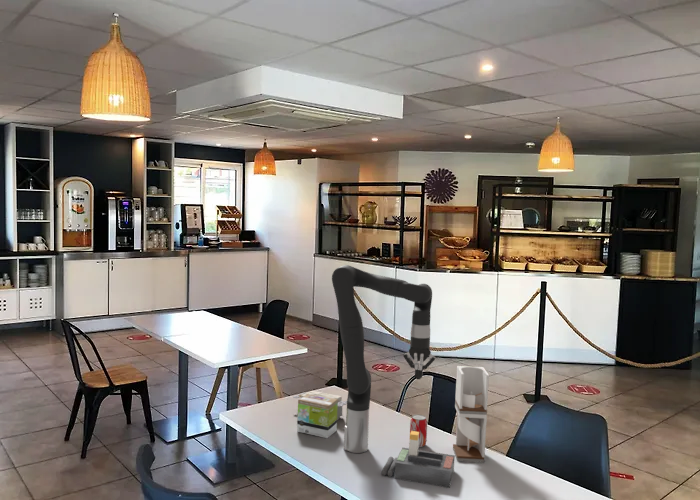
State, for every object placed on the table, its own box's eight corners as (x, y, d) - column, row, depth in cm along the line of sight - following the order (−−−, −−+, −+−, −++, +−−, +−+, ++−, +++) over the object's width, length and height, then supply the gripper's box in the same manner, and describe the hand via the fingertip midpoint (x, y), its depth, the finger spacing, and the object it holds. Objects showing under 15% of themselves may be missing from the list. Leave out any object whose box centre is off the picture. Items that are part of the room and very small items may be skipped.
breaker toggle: (408, 457, 215) (409, 434, 214) (410, 454, 218) (411, 430, 217) (416, 458, 214) (417, 435, 213) (418, 455, 217) (419, 431, 216)
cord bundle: (380, 476, 212) (381, 470, 212) (389, 460, 226) (389, 455, 226) (392, 477, 211) (392, 472, 211) (399, 462, 225) (399, 457, 225)
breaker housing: (394, 478, 211) (395, 458, 211) (401, 462, 224) (402, 443, 224) (449, 487, 206) (450, 467, 205) (453, 470, 219) (454, 451, 218)
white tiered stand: (452, 448, 239) (457, 365, 236) (478, 450, 239) (483, 367, 236) (457, 461, 228) (461, 373, 225) (484, 462, 227) (489, 375, 225)
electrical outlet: (338, 426, 258) (338, 403, 258) (290, 415, 274) (289, 394, 274) (353, 418, 267) (353, 397, 267) (306, 408, 284) (305, 388, 284)
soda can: (425, 449, 238) (426, 420, 237) (408, 447, 239) (409, 418, 238) (426, 442, 245) (428, 414, 244) (410, 440, 246) (411, 413, 245)
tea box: (296, 432, 250) (297, 399, 249) (306, 424, 260) (307, 392, 258) (327, 439, 245) (329, 404, 244) (337, 430, 254) (338, 397, 253)
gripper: (438, 334, 227) (436, 378, 229) (405, 331, 231) (403, 374, 232) (436, 338, 220) (433, 383, 221) (401, 335, 224) (400, 379, 225)
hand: (418, 378), depth 227 cm, fingers closed
